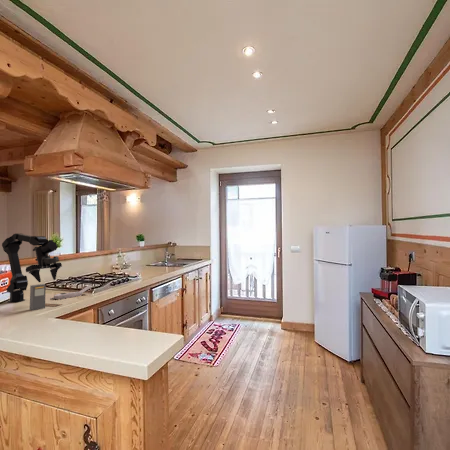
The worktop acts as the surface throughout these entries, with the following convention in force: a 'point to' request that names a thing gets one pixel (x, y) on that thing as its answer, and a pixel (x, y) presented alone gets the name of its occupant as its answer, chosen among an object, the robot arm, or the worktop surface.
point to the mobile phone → (70, 294)
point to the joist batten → (52, 305)
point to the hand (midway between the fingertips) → (47, 280)
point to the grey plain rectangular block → (37, 296)
